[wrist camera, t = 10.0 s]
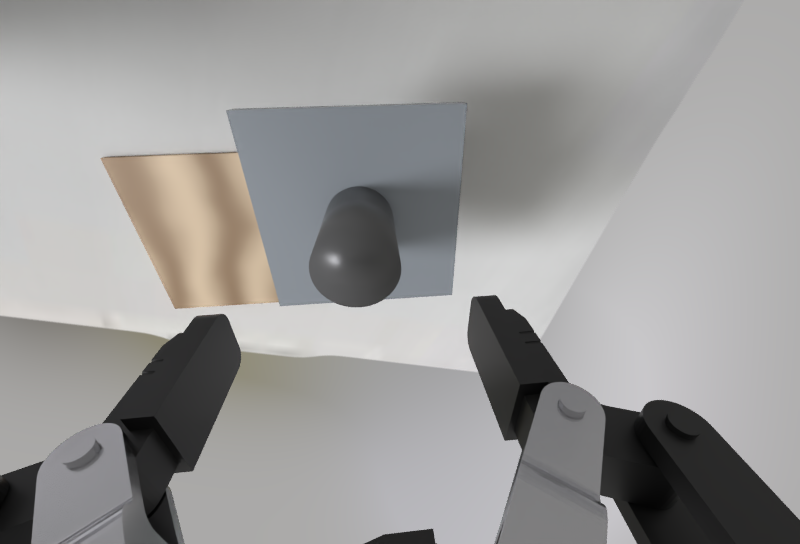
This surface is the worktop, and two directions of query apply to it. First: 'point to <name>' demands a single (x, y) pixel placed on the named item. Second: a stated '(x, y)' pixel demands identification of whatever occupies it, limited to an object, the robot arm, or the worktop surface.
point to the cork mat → (196, 226)
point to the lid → (355, 198)
